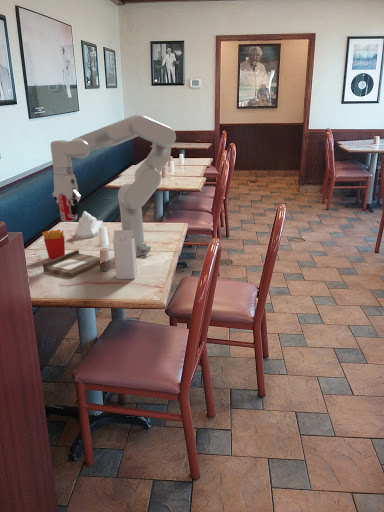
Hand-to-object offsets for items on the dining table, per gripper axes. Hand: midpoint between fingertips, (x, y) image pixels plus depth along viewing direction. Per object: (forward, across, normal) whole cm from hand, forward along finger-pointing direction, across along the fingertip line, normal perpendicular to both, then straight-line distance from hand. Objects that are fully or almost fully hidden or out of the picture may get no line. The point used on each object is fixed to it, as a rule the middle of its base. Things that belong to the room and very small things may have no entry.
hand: (68, 212), depth 191 cm
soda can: (+4, 0, 0) cm, 4 cm away
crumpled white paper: (+22, +24, -33) cm, 47 cm away
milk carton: (+22, -33, +3) cm, 40 cm away
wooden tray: (+22, -6, +5) cm, 23 cm away
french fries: (+22, +11, 0) cm, 25 cm away
